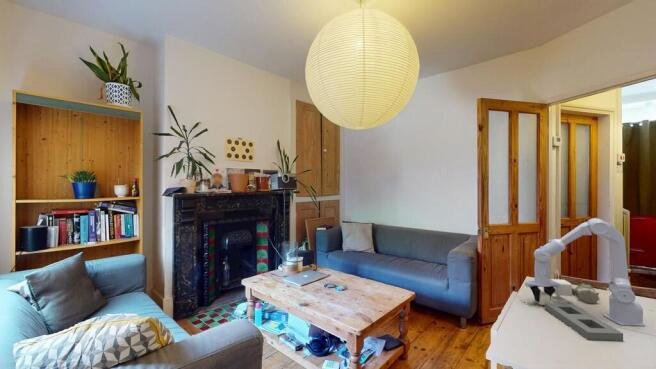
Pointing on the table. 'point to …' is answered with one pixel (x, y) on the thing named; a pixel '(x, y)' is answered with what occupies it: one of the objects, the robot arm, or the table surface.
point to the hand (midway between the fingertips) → (542, 301)
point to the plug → (543, 298)
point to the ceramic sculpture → (586, 293)
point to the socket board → (583, 322)
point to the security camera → (561, 291)
